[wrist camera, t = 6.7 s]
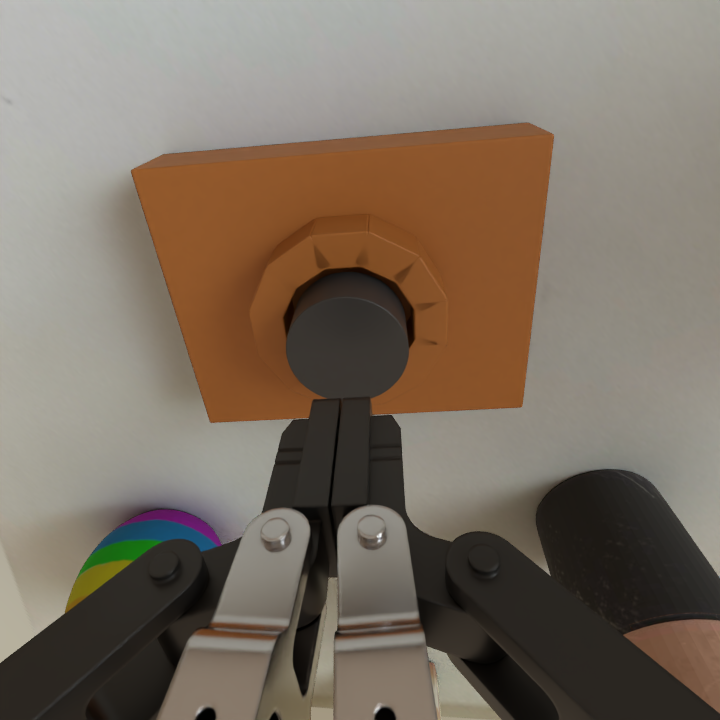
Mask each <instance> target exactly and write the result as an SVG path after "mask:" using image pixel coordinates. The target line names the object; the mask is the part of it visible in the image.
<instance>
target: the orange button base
mask: <svg viewBox="0 0 720 720" xmlns="http://www.w3.org/2000/svg"><path fill="white" fill-rule="evenodd" d="M553 141H554V134H552V133H550V132H548V131H545V130H543V129H541V128H539V127H537V126H535V125H532V124H530V123H518V124H506V125H495V126H483V127H472V128H460V129H449V130H437V131H426V132H414V133H403V134H391V135H380V136H368V137H357V138H345V139H334V140H322V141H311V142H299V143H288V144H276V145H265V146H253V147H242V148H230V149H219V150H207V151H196V152H184V153H173V154H163V155H161V156H159V157H157V158H155V159H153V160H151V161H149V162H147V163H145V164H142V165H140V166H138V167H136V168H134V169H132V170H131V173H132V177H133V180H134V183H135V186H136V189H137V192H138V196H139V199H140V202H141V205H142V208H143V211H144V214H145V218H146V221H147V224H148V227H149V230H150V233H151V237H152V240H153V243H154V246H155V249H156V252H157V256H158V259H159V262H160V265H161V268H162V271H163V275H164V278H165V281H166V284H167V287H168V290H169V294H170V297H171V300H172V303H173V306H174V309H175V313H176V316H177V319H178V322H179V325H180V328H181V331H182V335H183V338H184V341H185V344H186V347H187V350H188V354H189V357H190V360H191V363H192V366H193V369H194V373H195V376H196V379H197V382H198V385H199V388H200V392H201V395H202V398H203V401H204V404H205V407H206V411H207V414H208V417H209V420H210V422H211V423H215V422H235V421H256V420H276V419H296V418H309V415H310V410H311V404H312V401H313V399H327V398H324V397H321V396H319V395H317V394H315V393H314V392H312V391H310V390H309V389H308V388H306V387H305V386H304V385H303V384H302V383H301V382H300V381H299V380H298V379H297V378H296V376H295V375H294V373H293V372H292V370H291V368H290V366H289V363H288V360H287V356H286V339H287V335H288V332H289V328H290V325H291V322H292V319H293V315H294V312H295V309H296V306H297V303H298V301H299V299H300V297H301V296H302V294H303V293H304V291H305V290H306V289H307V288H308V287H309V286H310V285H312V284H313V283H314V282H315V281H317V280H319V279H321V278H322V277H325V276H327V275H330V274H334V273H339V272H358V273H363V274H367V275H370V276H373V277H375V278H377V279H379V280H381V281H382V282H384V283H385V284H386V285H388V286H389V287H390V288H391V289H392V290H393V291H394V292H395V294H396V295H397V296H398V298H399V300H400V301H401V303H402V306H403V308H404V312H405V318H406V327H407V335H408V344H409V357H408V362H407V365H406V368H405V370H404V372H403V374H402V376H401V377H400V378H399V380H398V381H397V382H396V383H395V384H394V385H393V386H392V387H391V388H390V389H388V390H387V391H386V392H384V393H382V394H381V395H379V396H376V397H374V398H371V403H372V414H373V415H377V414H397V413H417V412H437V411H458V410H478V409H498V408H518V407H522V405H523V396H524V388H525V379H526V371H527V362H528V353H529V345H530V336H531V328H532V319H533V311H534V302H535V294H536V285H537V277H538V268H539V260H540V251H541V243H542V234H543V226H544V217H545V209H546V200H547V192H548V183H549V175H550V166H551V158H552V149H553Z"/></svg>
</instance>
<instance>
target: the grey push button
mask: <svg viewBox="0 0 720 720" xmlns="http://www.w3.org/2000/svg"><path fill="white" fill-rule="evenodd" d="M286 356H287V360H288V363H289V366H290V368H291V370H292V372H293V373H294V375H295V376H296V378H297V379H298V380H299V381H300V382H301V383H302V384H303V385H304V386H305V387H306V388H308V389H309V390H310V391H312V392H314V393H315V394H317V395H319V396H321V397H324V398H327V399H331V398H341V399H343V398H349V397H369V396H371V398H374V397H376V396H379V395H381V394H382V393H384V392H386V391H387V390H388V389H390V388H391V387H392V386H393V385H394V384H395V383H396V382H397V381H398V380H399V378H400V377H401V376H402V374H403V372H404V370H405V368H406V365H407V362H408V357H409V344H408V335H407V327H406V318H405V312H404V308H403V306H402V303H401V301H400V300H399V298H398V296H397V295H396V294H395V292H394V291H393V290H392V289H391V288H390V287H389V286H388V285H386V284H385V283H384V282H382V281H381V280H379V279H377V278H375V277H373V276H370V275H367V274H363V273H358V272H339V273H334V274H330V275H327V276H325V277H322V278H321V279H319V280H317V281H315V282H314V283H313V284H312V285H310V286H309V287H308V288H307V289H306V290H305V291H304V293H303V294H302V296H301V297H300V299H299V301H298V303H297V306H296V309H295V312H294V315H293V319H292V322H291V325H290V328H289V332H288V335H287V339H286Z"/></svg>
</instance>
